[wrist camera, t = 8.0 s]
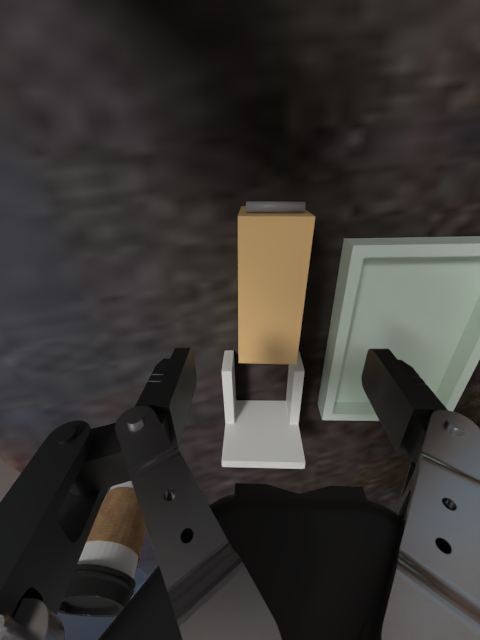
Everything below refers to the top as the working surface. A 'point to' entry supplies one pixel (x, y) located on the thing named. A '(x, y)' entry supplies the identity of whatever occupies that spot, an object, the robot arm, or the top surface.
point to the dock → (262, 424)
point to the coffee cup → (108, 558)
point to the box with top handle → (272, 279)
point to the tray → (403, 317)
